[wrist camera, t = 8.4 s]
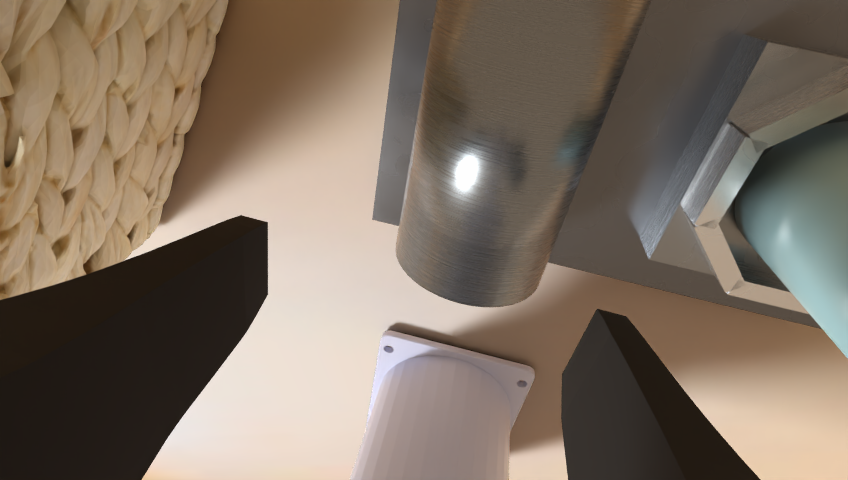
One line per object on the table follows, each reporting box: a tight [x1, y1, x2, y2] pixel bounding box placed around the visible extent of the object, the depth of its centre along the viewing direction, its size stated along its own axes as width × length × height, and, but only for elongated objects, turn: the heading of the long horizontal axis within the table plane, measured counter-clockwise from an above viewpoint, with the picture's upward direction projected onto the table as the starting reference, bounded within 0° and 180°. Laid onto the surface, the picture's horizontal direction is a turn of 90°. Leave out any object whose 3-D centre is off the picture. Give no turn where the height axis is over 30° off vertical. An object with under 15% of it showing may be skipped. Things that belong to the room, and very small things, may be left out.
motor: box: [372, 0, 848, 329], centre depth 13 cm, size 11×18×6 cm, turn 80°
